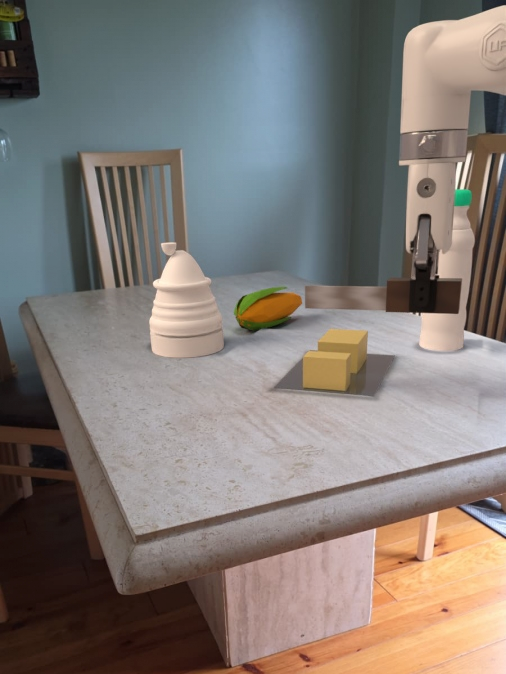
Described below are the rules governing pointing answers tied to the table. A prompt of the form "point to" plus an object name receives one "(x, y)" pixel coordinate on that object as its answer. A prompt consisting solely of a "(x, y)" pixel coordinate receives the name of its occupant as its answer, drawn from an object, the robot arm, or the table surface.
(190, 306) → the honey pot
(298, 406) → the table surface
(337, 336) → the butter block
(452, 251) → the water bottle
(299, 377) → the butter dish
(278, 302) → the corn
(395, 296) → the knife
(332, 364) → the block
